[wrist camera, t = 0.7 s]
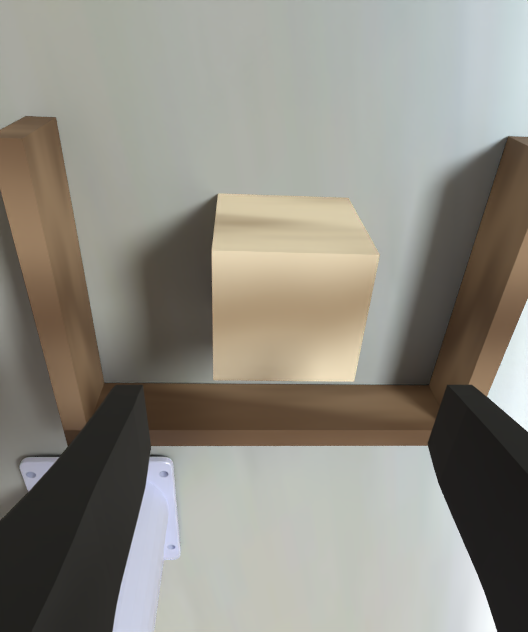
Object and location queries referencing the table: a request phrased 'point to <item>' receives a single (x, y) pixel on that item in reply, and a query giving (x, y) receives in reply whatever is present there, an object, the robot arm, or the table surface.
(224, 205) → the maple block
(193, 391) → the open walnut frame
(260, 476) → the table surface
